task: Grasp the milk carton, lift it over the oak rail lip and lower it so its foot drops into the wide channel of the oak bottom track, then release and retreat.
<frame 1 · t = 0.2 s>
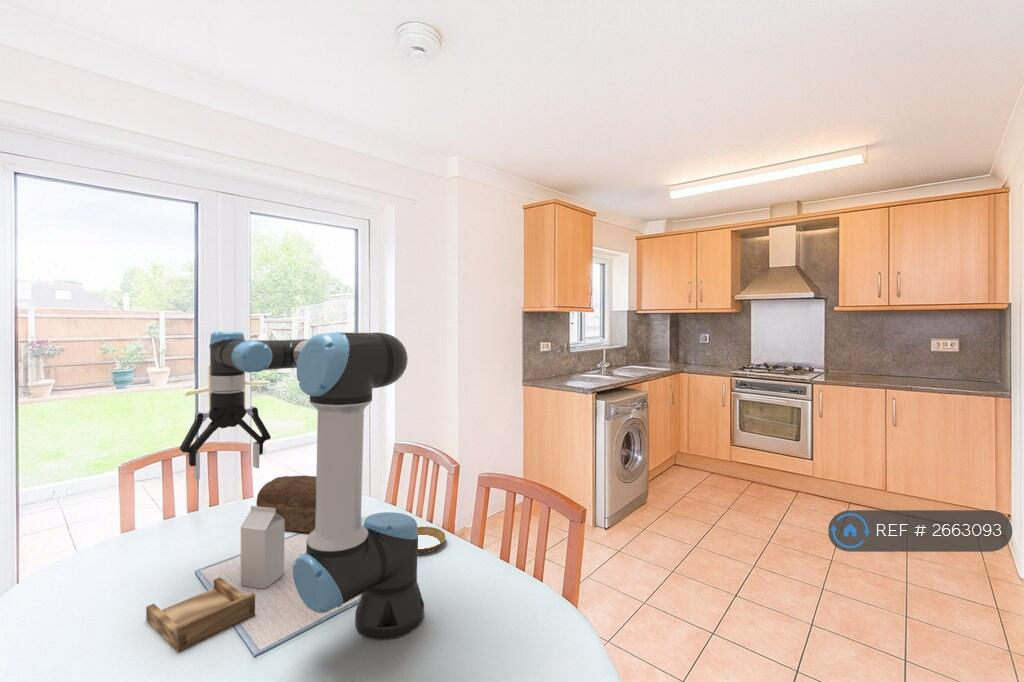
hand: (227, 472, 122), 27 cm above the table, fingers open, 13 cm apart
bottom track: (201, 618, 105), on the table
bread: (307, 524, 155), on the table
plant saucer: (420, 546, 142), on the table
milk carton: (262, 581, 121), on the table
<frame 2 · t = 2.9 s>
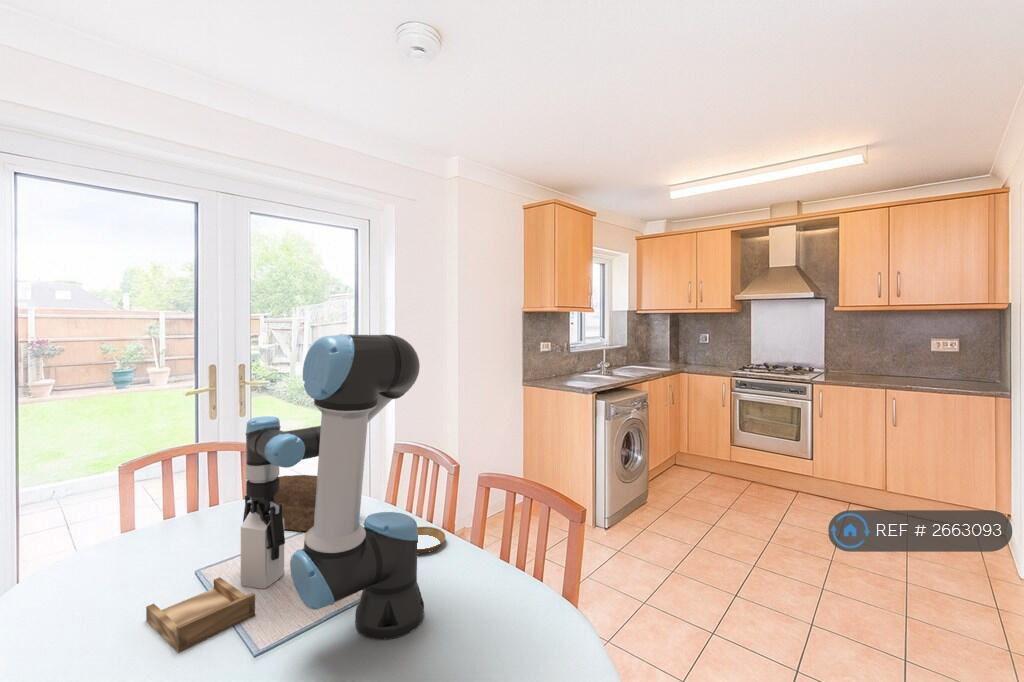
hand: (262, 564, 121), 4 cm above the table, fingers closed on milk carton, 9 cm apart
milk carton: (262, 581, 121), on the table, touching gripper
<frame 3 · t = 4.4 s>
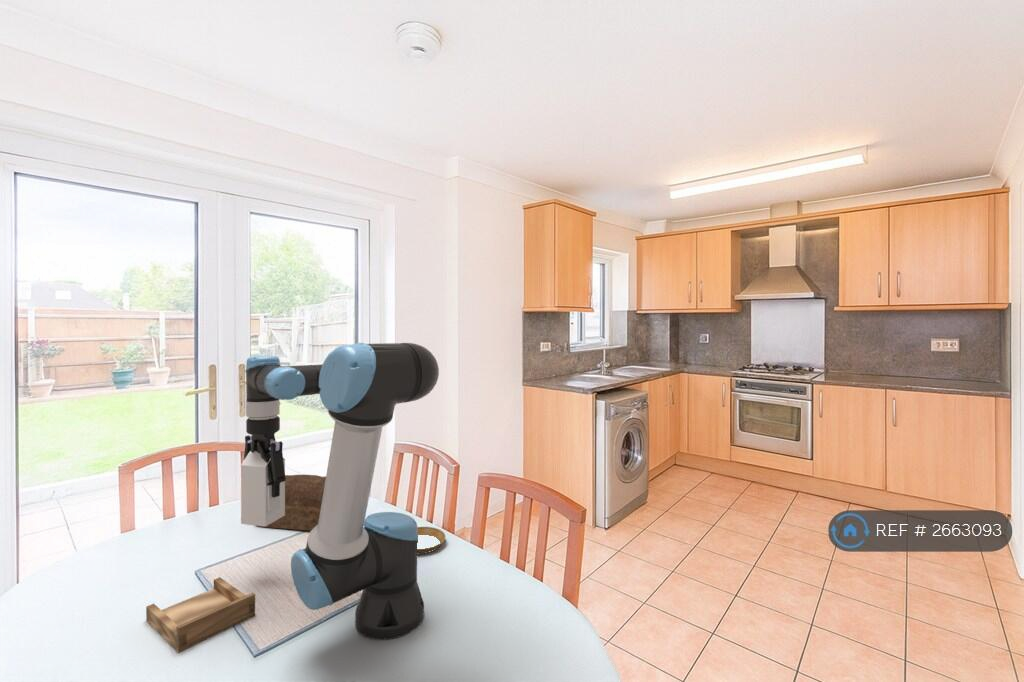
hand: (263, 504, 120), 20 cm above the table, fingers closed on milk carton, 9 cm apart
milk carton: (263, 521, 120), point 16 cm above the table, touching gripper
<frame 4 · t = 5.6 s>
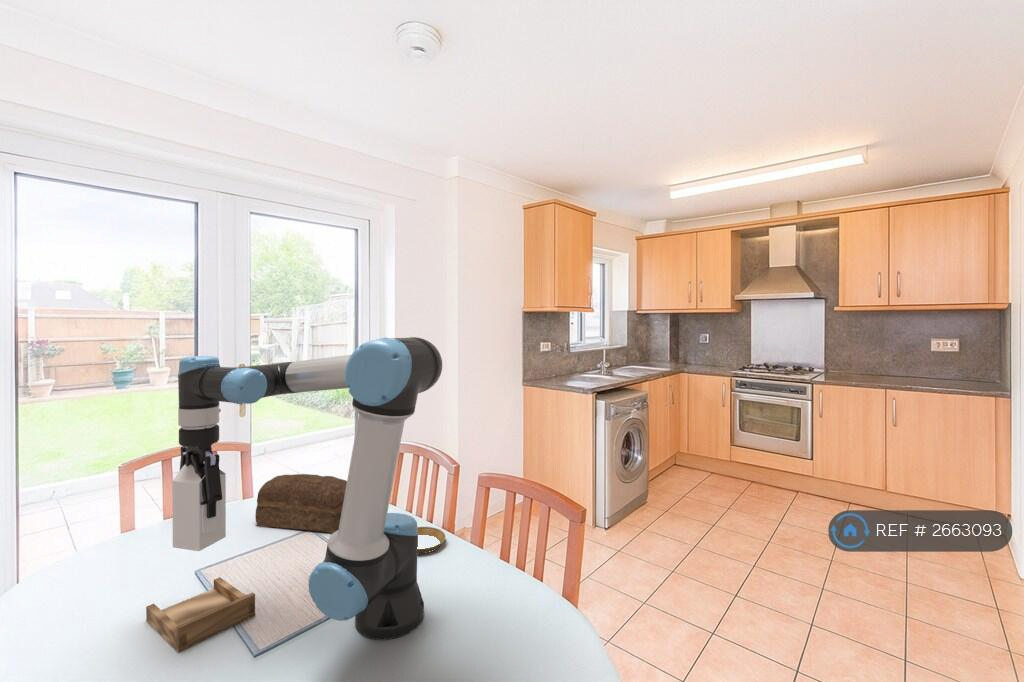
hand: (199, 525, 105), 21 cm above the table, fingers closed on milk carton, 9 cm apart
milk carton: (199, 543, 106), point 16 cm above the table, touching gripper
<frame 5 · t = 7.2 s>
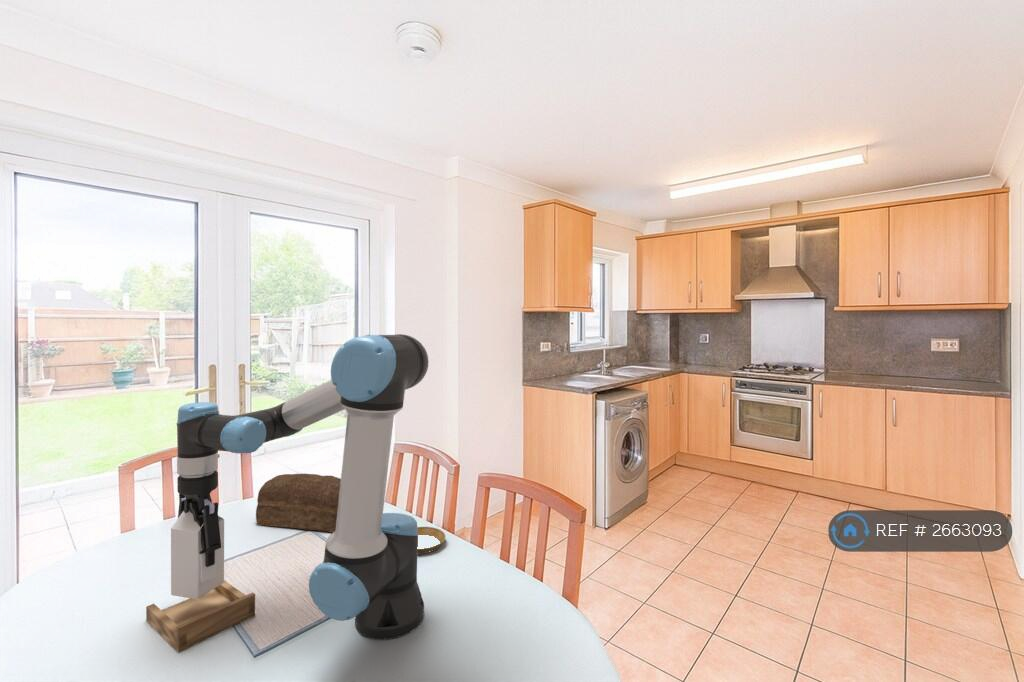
hand: (198, 571, 105), 10 cm above the table, fingers closed on milk carton, 9 cm apart
milk carton: (198, 590, 106), point 6 cm above the table, touching gripper
when the fingers open (6 cm above the table, at t = 8.6 s): milk carton stays where it is, resting on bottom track.
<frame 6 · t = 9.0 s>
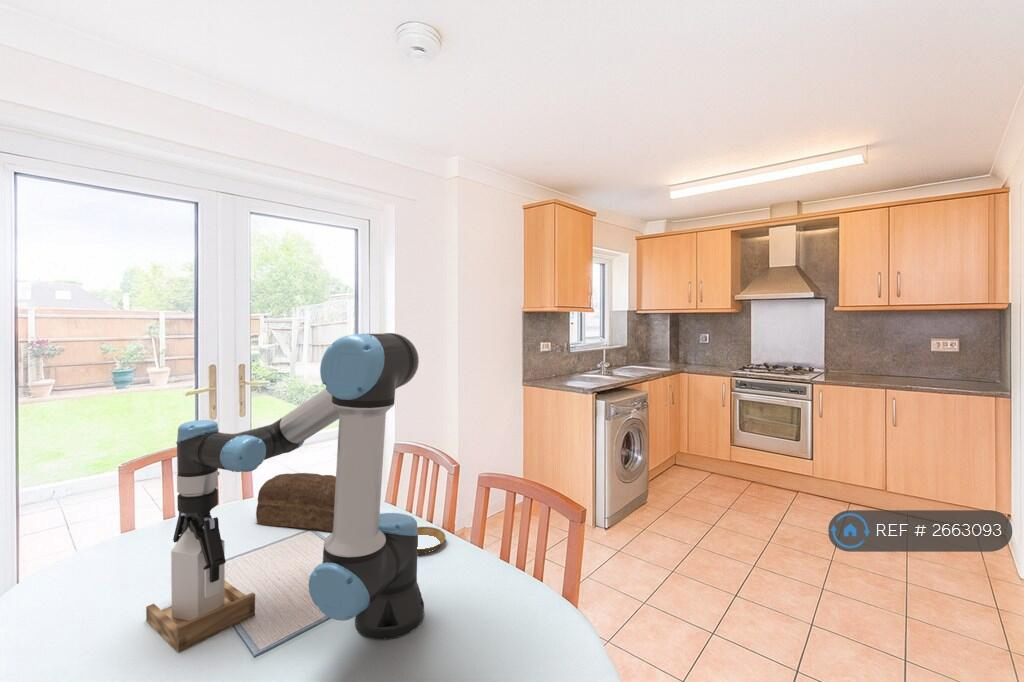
hand: (198, 584, 106), 7 cm above the table, fingers open, 13 cm apart
milk carton: (198, 612, 106), point 1 cm above the table, touching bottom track
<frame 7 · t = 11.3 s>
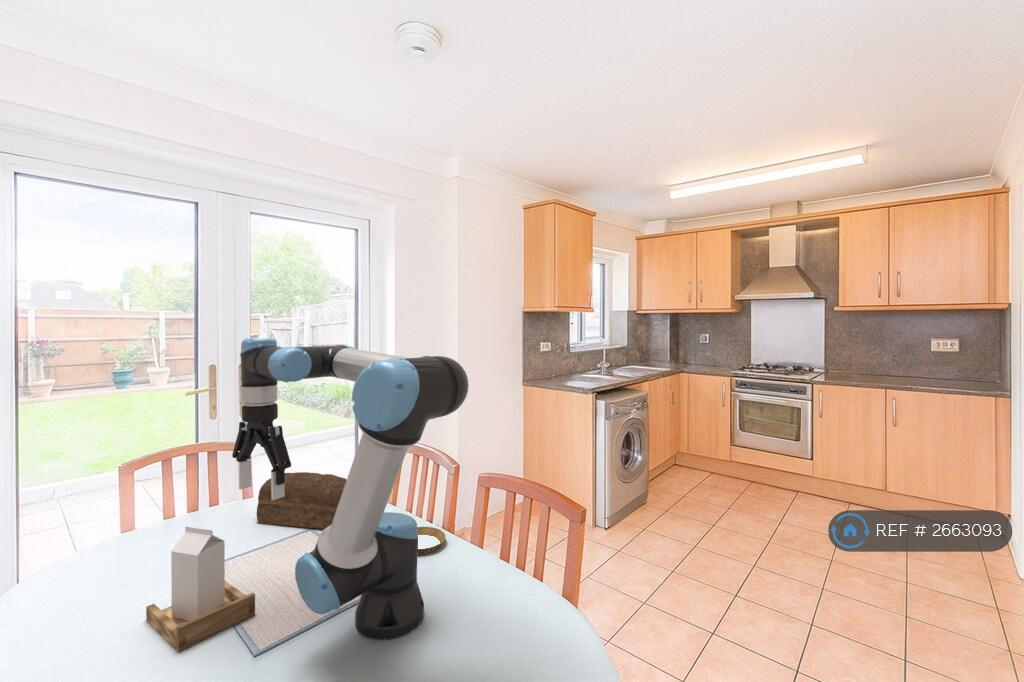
hand: (261, 492, 111), 26 cm above the table, fingers open, 13 cm apart
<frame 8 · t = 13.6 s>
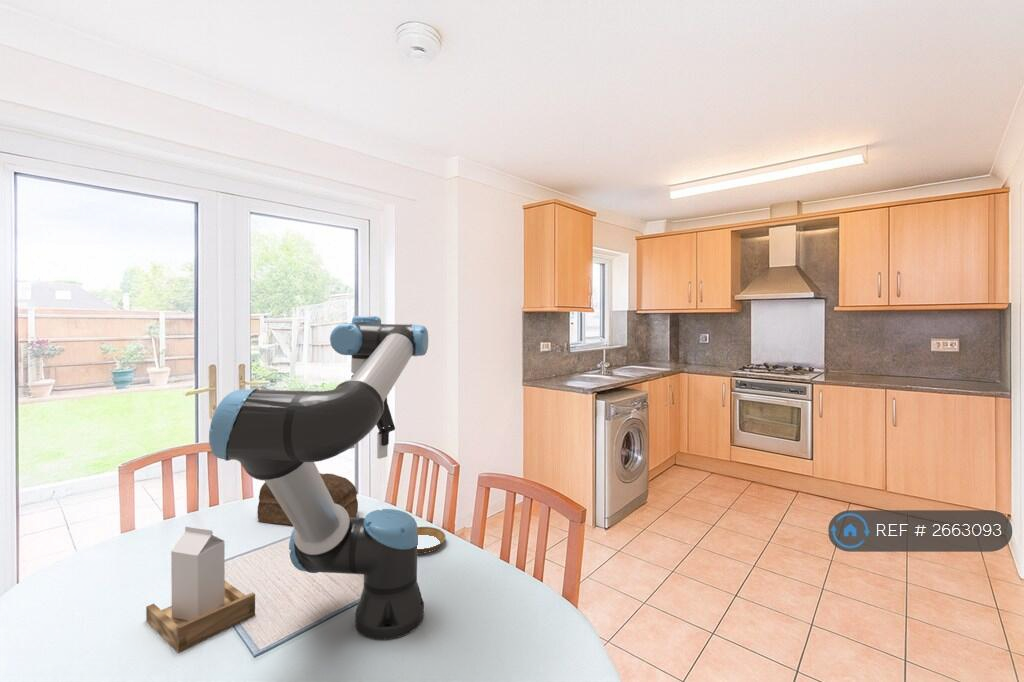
hand: (365, 453, 126), 32 cm above the table, fingers open, 13 cm apart
at the end: milk carton inside the target area on the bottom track (0.6 cm from its centre), point 0.8 cm above the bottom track's base; milk carton tilted 0°; the gripper is holding nothing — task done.
